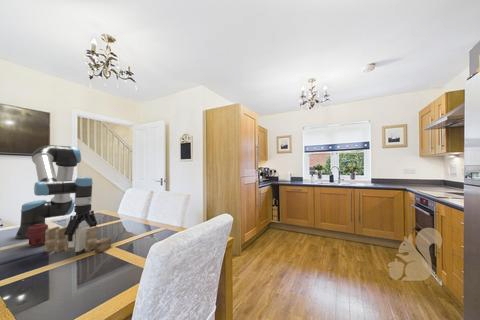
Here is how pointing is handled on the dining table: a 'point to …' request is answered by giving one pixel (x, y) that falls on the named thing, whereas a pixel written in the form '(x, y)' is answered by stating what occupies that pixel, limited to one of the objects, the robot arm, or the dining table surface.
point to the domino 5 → (90, 238)
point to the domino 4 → (80, 238)
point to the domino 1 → (50, 239)
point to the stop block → (102, 244)
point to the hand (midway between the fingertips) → (81, 242)
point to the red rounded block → (36, 234)
